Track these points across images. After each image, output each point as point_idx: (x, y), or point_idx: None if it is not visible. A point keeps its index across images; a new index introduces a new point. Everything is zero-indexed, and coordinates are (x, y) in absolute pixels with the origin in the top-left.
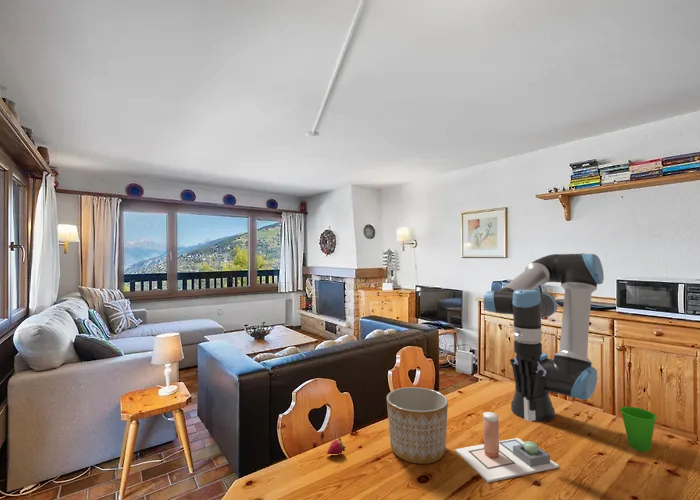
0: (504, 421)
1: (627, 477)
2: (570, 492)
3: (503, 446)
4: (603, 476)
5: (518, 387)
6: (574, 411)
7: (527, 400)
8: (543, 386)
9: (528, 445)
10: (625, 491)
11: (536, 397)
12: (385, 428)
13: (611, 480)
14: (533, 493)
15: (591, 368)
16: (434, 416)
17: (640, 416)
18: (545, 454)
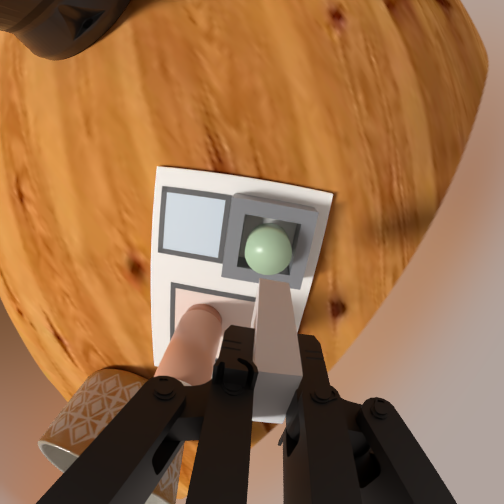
0: (68, 120)
1: (432, 85)
2: (398, 269)
3: (179, 256)
4: (410, 128)
5: (166, 455)
6: None
7: (282, 417)
8: (444, 499)
9: (269, 267)
10: (454, 153)
11: (370, 451)
12: (65, 389)
13: (425, 131)
14: (352, 340)
15: None
16: (174, 495)
17: None
18: (309, 224)
